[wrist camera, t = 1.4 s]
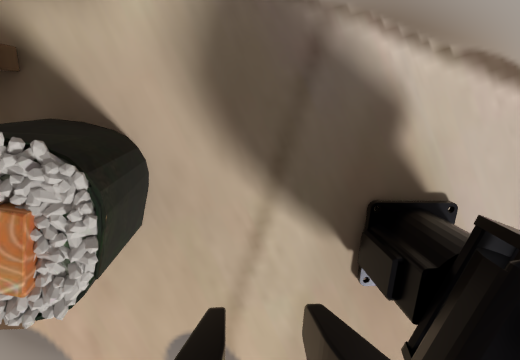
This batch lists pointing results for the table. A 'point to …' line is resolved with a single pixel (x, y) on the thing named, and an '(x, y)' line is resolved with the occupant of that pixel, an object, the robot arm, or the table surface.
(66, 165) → the sushi
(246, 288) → the table surface
